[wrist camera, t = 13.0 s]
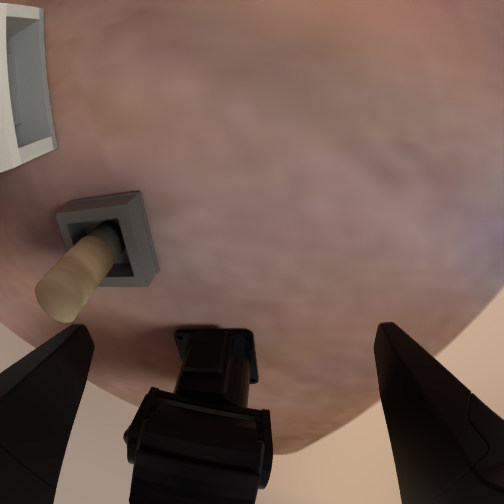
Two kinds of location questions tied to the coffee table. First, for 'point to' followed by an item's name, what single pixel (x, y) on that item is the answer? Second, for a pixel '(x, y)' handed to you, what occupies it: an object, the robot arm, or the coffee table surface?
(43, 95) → the breaker box
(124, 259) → the holder
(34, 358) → the robot arm
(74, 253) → the beige rounded rod
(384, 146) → the coffee table surface
